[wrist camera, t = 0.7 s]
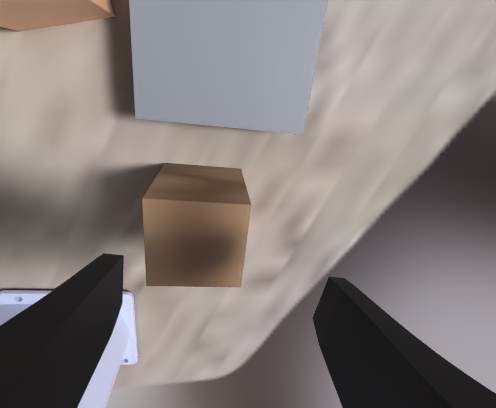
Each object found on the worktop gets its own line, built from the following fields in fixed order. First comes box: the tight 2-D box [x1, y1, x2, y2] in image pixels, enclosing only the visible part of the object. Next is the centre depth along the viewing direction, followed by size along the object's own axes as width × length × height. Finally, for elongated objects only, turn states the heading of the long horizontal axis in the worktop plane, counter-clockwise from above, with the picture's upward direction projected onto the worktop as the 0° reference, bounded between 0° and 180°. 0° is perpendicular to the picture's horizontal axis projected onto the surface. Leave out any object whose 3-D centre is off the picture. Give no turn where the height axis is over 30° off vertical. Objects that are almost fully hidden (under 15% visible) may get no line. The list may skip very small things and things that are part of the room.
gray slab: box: [129, 0, 328, 135], centre depth 14 cm, size 9×9×3 cm
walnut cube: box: [142, 163, 251, 287], centre depth 16 cm, size 5×5×6 cm
